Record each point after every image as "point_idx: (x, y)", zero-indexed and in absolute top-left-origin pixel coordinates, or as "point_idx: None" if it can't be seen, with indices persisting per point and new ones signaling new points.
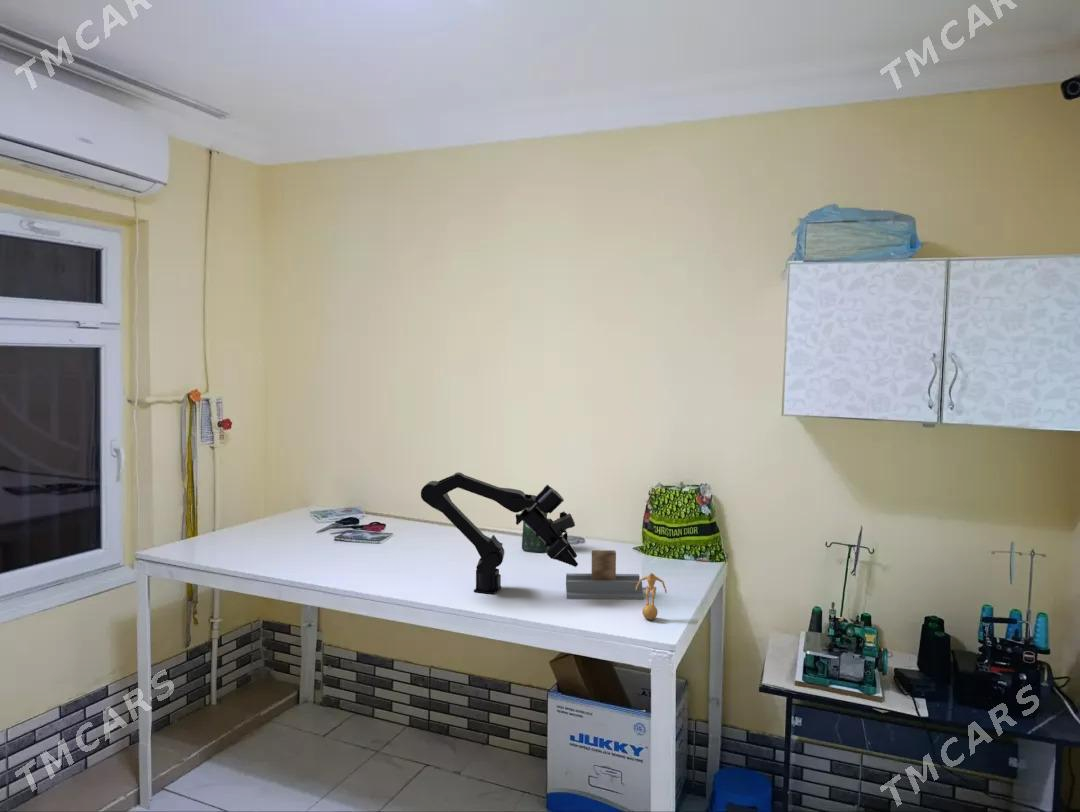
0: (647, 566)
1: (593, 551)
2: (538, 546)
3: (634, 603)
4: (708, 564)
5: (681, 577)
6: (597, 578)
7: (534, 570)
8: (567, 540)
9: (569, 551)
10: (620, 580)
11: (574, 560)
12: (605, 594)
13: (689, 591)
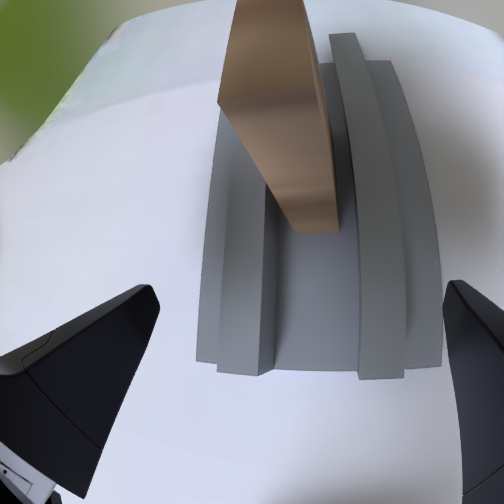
0: (95, 102)
1: (271, 80)
2: None
3: (439, 94)
4: (126, 26)
5: (187, 29)
6: (334, 179)
7: None
8: (5, 366)
9: (114, 355)
10: (342, 85)
11: (498, 314)
12: (413, 172)
13: None
